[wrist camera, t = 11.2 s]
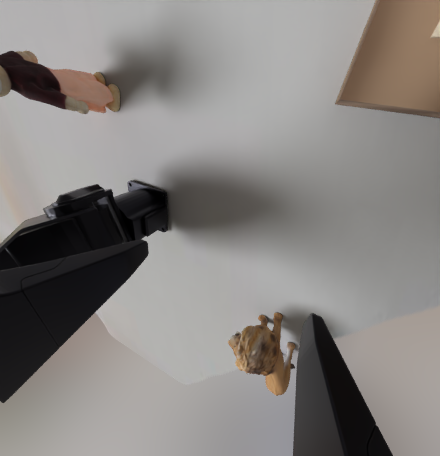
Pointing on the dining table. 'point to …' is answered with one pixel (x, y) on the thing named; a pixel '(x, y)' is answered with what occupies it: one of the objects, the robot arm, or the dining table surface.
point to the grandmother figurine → (56, 84)
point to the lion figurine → (264, 353)
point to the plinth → (397, 60)
